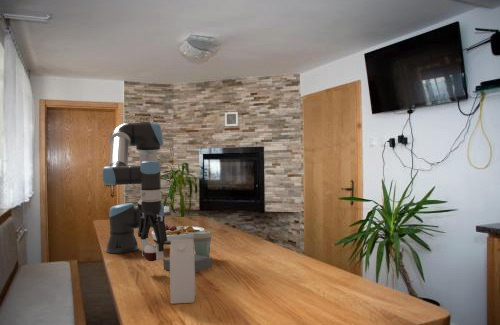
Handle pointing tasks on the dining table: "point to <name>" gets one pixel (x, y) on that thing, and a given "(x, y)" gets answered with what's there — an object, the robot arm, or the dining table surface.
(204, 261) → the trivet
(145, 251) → the cocoa
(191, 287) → the milk carton
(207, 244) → the coffee cup
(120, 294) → the dining table surface
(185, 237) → the bowl
